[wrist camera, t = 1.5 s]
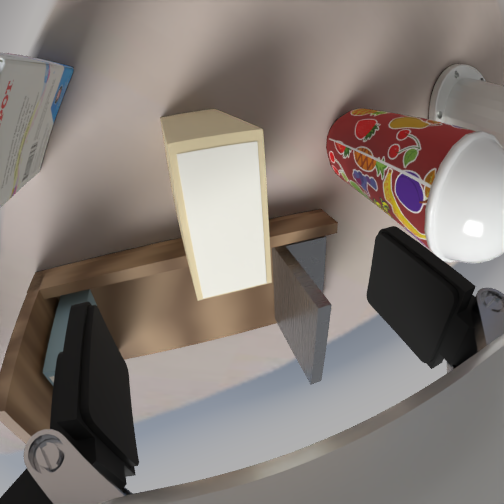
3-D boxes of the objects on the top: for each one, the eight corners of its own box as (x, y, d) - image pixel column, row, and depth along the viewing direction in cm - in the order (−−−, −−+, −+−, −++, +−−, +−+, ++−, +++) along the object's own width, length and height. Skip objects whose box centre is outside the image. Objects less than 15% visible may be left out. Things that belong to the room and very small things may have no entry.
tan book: (214, 108, 22) (263, 129, 13) (225, 205, 26) (272, 283, 17) (160, 117, 21) (167, 143, 12) (176, 215, 25) (197, 301, 16)
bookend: (322, 232, 29) (378, 288, 22) (318, 306, 34) (360, 365, 27) (271, 244, 28) (318, 308, 21) (274, 318, 33) (310, 384, 26)
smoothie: (307, 187, 27) (488, 344, 11) (315, 92, 23) (559, 167, 7) (380, 185, 30) (546, 301, 13) (392, 104, 25) (591, 180, 9)
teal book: (89, 288, 25) (78, 367, 18) (118, 350, 29) (121, 425, 22) (60, 295, 24) (42, 373, 17) (92, 355, 29) (90, 429, 21)
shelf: (321, 208, 29) (429, 305, 17) (316, 307, 35) (386, 407, 23) (35, 272, 23) (-11, 411, 11) (84, 362, 30) (82, 486, 18)
